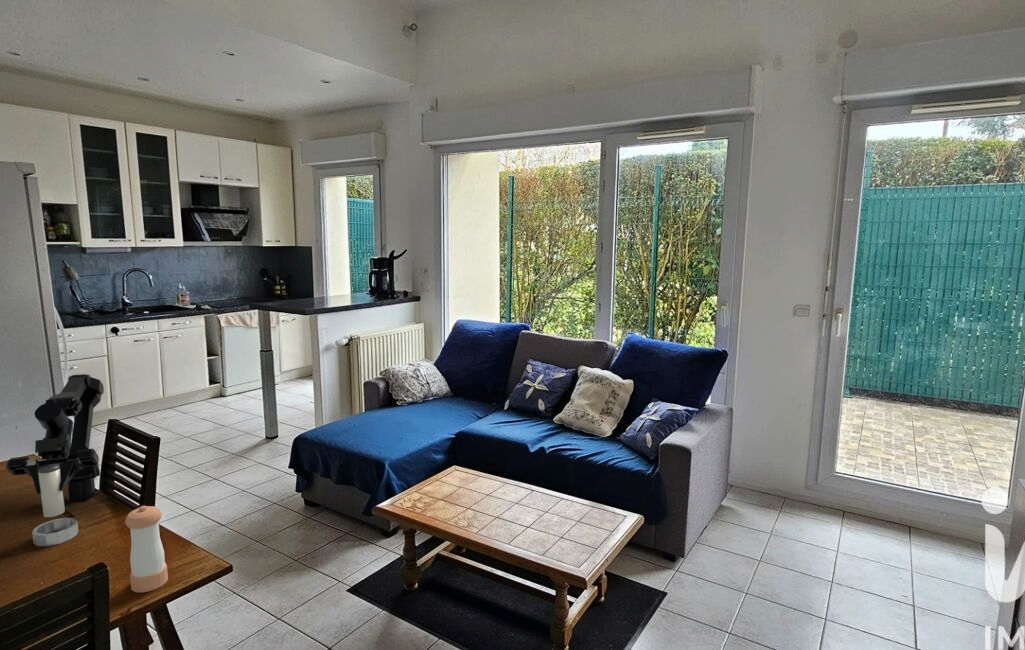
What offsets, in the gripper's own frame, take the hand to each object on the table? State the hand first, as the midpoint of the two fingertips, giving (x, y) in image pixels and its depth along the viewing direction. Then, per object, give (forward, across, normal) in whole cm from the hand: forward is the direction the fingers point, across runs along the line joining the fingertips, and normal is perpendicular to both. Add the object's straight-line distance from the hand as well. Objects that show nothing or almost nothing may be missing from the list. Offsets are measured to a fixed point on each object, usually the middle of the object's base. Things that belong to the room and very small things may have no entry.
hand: (49, 492), depth 147 cm
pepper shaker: (+32, +26, -13) cm, 43 cm away
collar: (+8, 0, +10) cm, 13 cm away
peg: (+4, 0, +6) cm, 7 cm away
